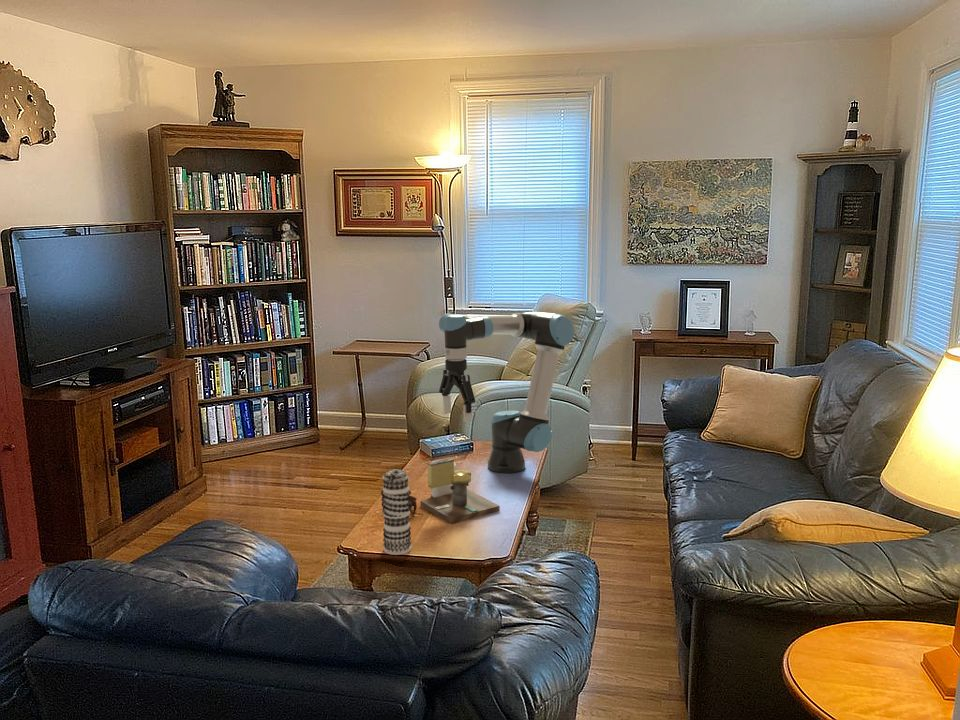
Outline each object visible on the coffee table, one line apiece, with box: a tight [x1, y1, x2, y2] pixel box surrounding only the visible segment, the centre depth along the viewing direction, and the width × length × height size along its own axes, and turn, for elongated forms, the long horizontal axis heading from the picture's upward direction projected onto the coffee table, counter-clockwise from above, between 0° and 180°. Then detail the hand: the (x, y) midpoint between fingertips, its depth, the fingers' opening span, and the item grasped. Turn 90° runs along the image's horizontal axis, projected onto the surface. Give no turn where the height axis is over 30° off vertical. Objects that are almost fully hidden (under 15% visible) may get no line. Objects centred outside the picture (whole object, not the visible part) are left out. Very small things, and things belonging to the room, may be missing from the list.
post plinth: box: [420, 483, 501, 525], centre depth 277 cm, size 20×20×10 cm
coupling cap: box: [427, 457, 472, 489], centre depth 273 cm, size 16×8×8 cm, turn 124°
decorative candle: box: [380, 468, 412, 556], centre depth 243 cm, size 9×9×25 cm
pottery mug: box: [409, 495, 418, 511], centre depth 273 cm, size 12×10×8 cm
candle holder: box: [430, 459, 457, 498], centre depth 289 cm, size 10×10×12 cm
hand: (457, 417), depth 282 cm, fingers open, 13 cm apart
